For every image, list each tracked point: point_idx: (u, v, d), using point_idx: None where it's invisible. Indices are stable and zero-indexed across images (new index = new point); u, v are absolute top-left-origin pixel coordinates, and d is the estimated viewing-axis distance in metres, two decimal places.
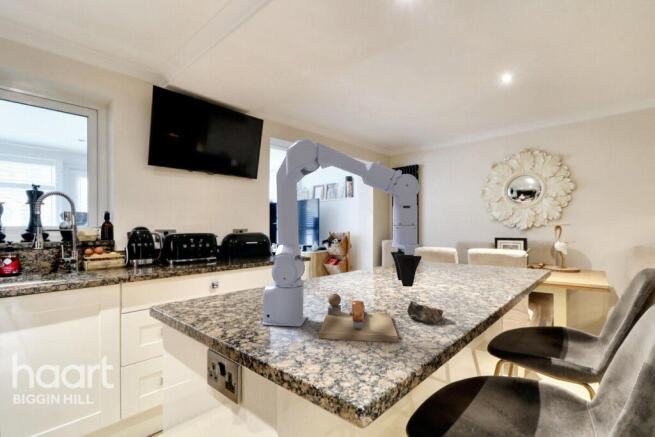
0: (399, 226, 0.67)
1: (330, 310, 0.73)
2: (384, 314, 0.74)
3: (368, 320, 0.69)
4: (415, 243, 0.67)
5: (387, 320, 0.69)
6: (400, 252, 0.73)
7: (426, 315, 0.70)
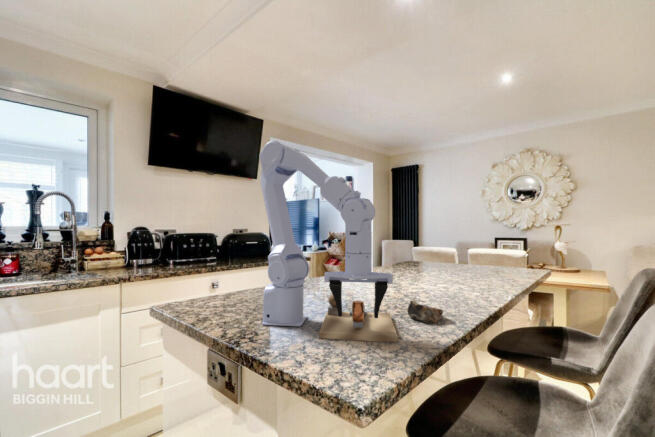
0: None
1: (330, 310, 0.73)
2: (384, 314, 0.74)
3: (368, 320, 0.69)
4: (349, 273, 0.61)
5: (387, 320, 0.69)
6: (375, 283, 0.63)
7: (425, 314, 0.70)
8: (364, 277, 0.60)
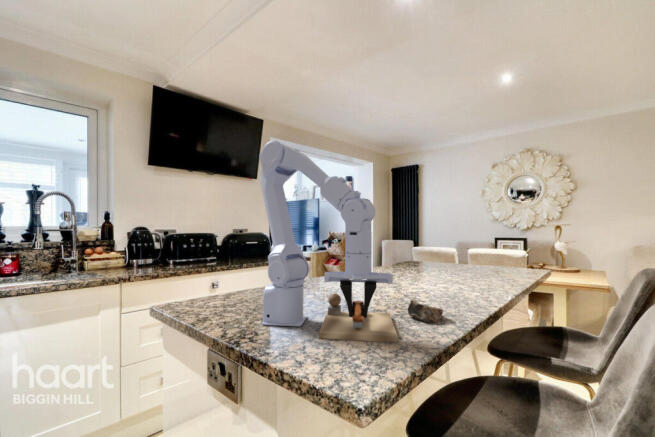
0: None
1: (330, 310, 0.73)
2: (384, 314, 0.74)
3: (368, 320, 0.69)
4: (349, 273, 0.61)
5: (387, 320, 0.69)
6: (364, 283, 0.63)
7: (425, 314, 0.71)
8: (364, 277, 0.60)
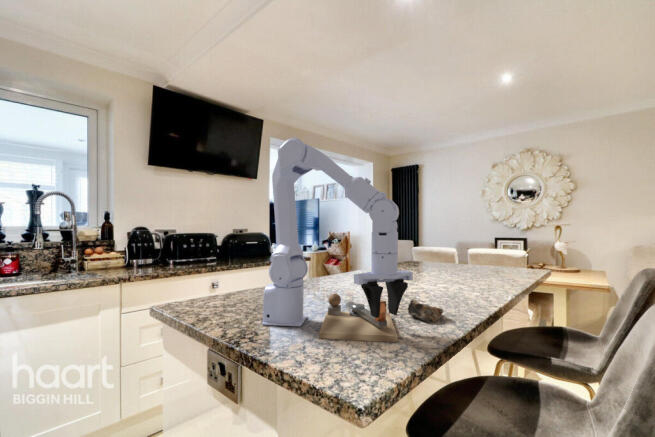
0: (371, 253, 0.65)
1: (330, 310, 0.73)
2: None
3: None
4: (383, 273, 0.61)
5: (387, 320, 0.69)
6: (391, 282, 0.66)
7: (425, 313, 0.71)
8: None
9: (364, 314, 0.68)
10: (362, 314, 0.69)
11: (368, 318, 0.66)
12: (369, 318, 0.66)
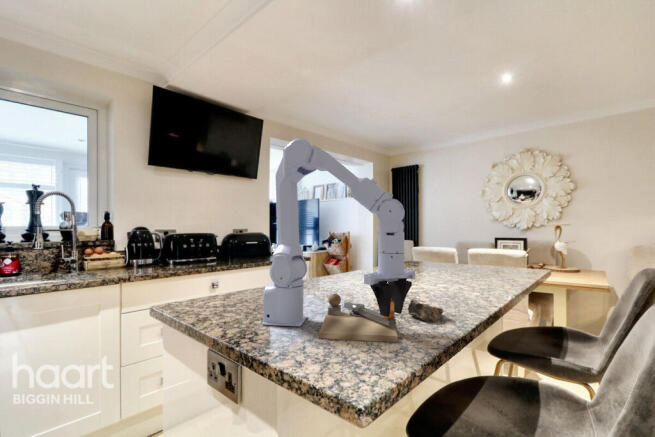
0: (378, 253, 0.65)
1: (330, 310, 0.73)
2: None
3: (368, 320, 0.69)
4: (392, 273, 0.62)
5: None
6: (395, 281, 0.67)
7: (425, 313, 0.71)
8: None
9: (368, 314, 0.69)
10: (365, 314, 0.70)
11: (374, 317, 0.67)
12: (376, 317, 0.66)
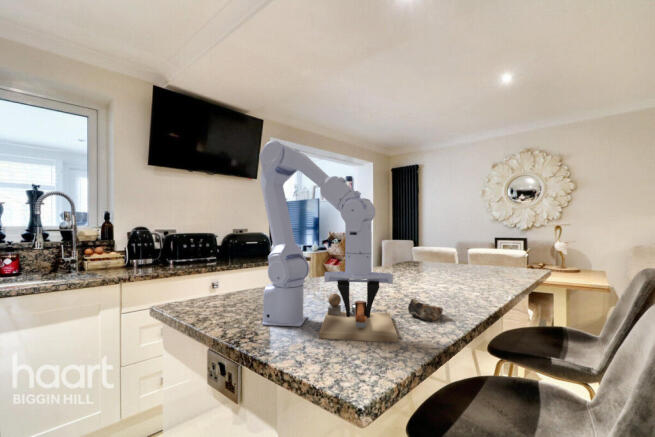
0: None
1: (330, 310, 0.73)
2: (384, 314, 0.74)
3: (368, 320, 0.69)
4: (349, 273, 0.61)
5: (387, 320, 0.69)
6: (367, 283, 0.63)
7: (425, 312, 0.72)
8: (364, 277, 0.60)
9: None
10: None
11: None
12: None
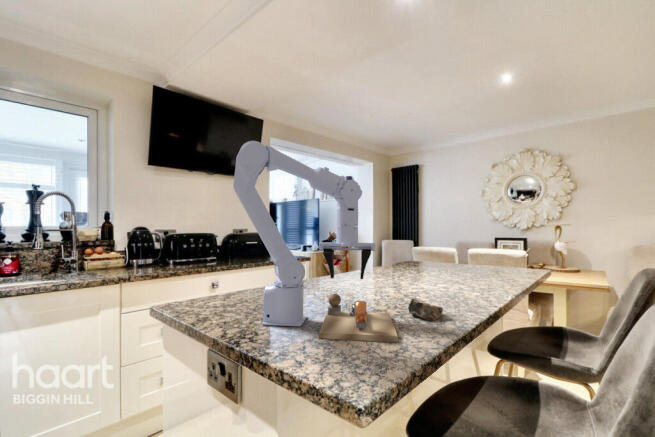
0: None
1: (330, 310, 0.73)
2: (384, 314, 0.74)
3: (368, 320, 0.69)
4: (339, 242, 0.74)
5: (387, 320, 0.69)
6: None
7: (425, 312, 0.72)
8: (351, 245, 0.73)
9: None
10: None
11: None
12: None
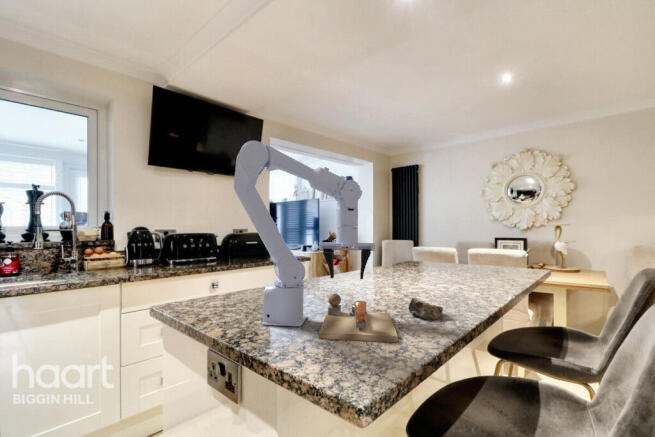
0: None
1: (330, 310, 0.73)
2: (384, 314, 0.74)
3: (368, 320, 0.69)
4: (339, 242, 0.75)
5: (387, 320, 0.69)
6: None
7: (425, 311, 0.73)
8: (351, 245, 0.74)
9: None
10: None
11: None
12: None
